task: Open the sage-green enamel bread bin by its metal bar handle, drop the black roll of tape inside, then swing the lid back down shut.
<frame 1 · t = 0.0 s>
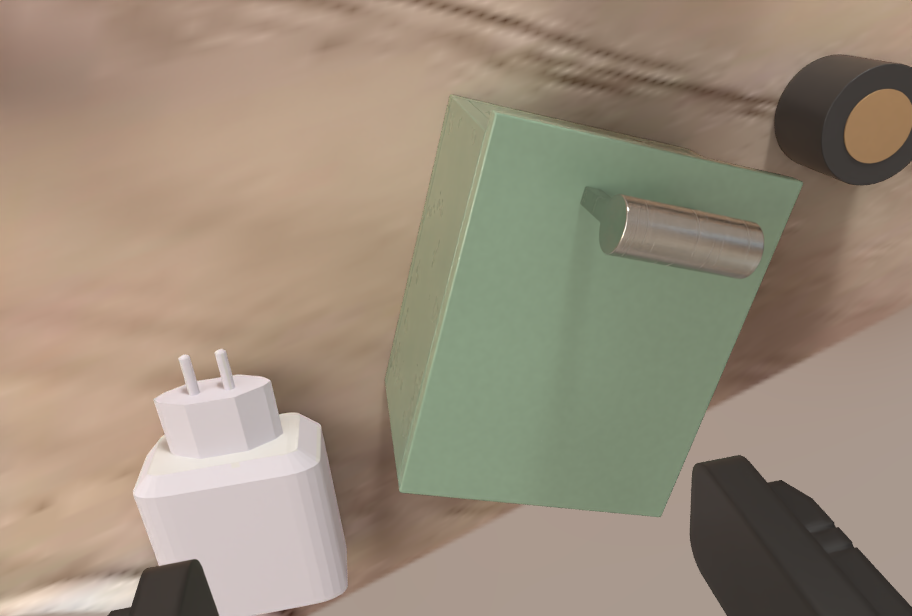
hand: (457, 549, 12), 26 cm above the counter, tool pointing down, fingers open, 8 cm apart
bread bin: (530, 268, 38), on the counter
charger: (242, 448, 41), on the counter
tape: (825, 111, 37), on the counter
lid: (607, 369, 28), point 12 cm above the counter, hinge at 0.0°
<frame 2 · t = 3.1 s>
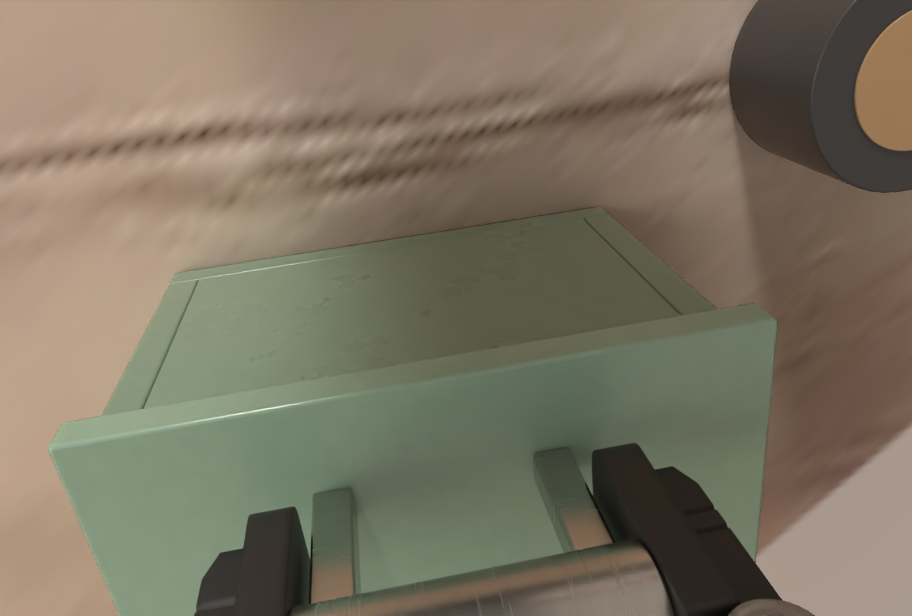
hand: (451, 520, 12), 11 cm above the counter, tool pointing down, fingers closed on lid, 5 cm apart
bread bin: (427, 453, 25), on the counter
tape: (820, 61, 21), on the counter
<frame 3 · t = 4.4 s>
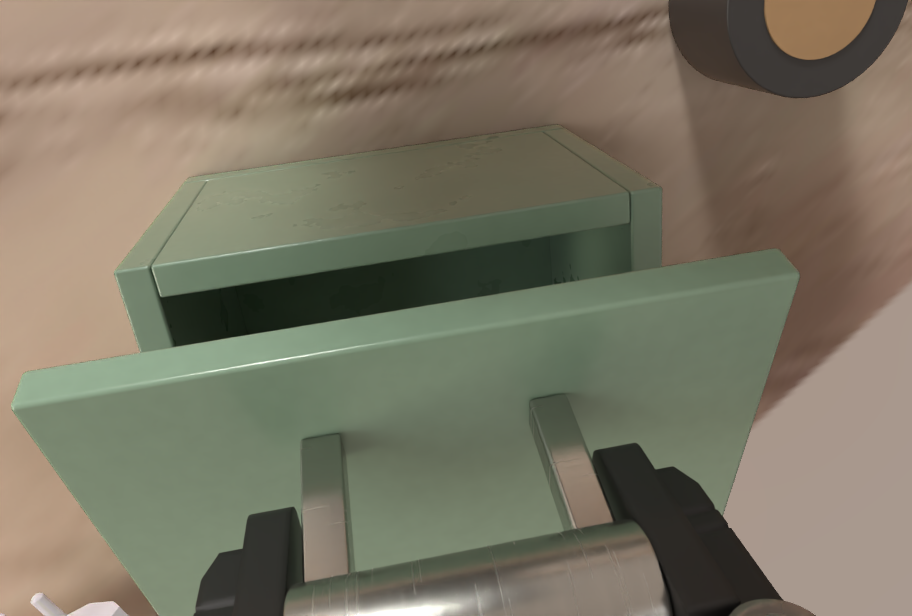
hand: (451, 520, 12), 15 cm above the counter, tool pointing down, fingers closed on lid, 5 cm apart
bread bin: (409, 353, 28), on the counter
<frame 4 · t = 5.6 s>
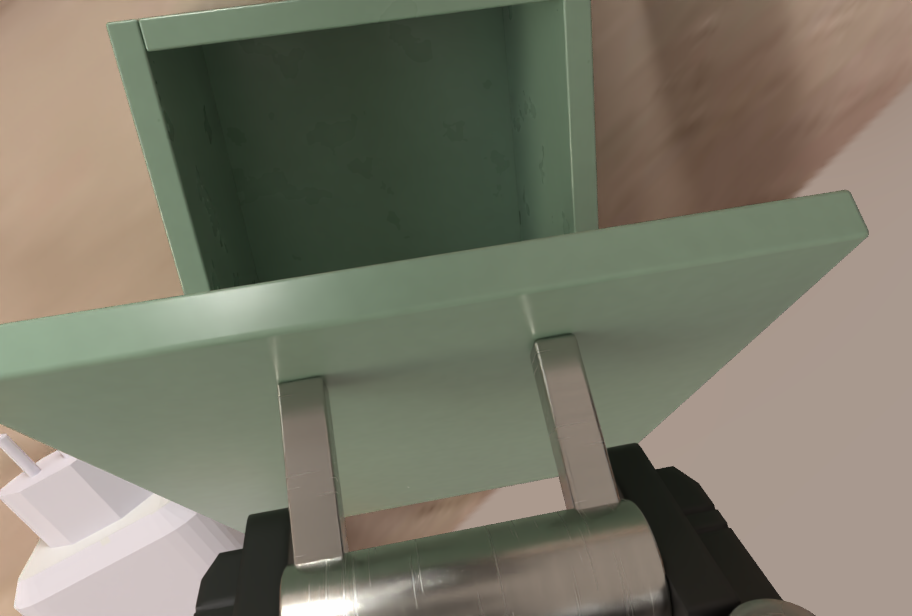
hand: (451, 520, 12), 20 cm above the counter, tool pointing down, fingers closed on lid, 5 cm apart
bread bin: (381, 197, 30), on the counter
charger: (150, 510, 34), on the counter
lid: (447, 529, 16), point 17 cm above the counter, hinge at 43.0°, touching gripper
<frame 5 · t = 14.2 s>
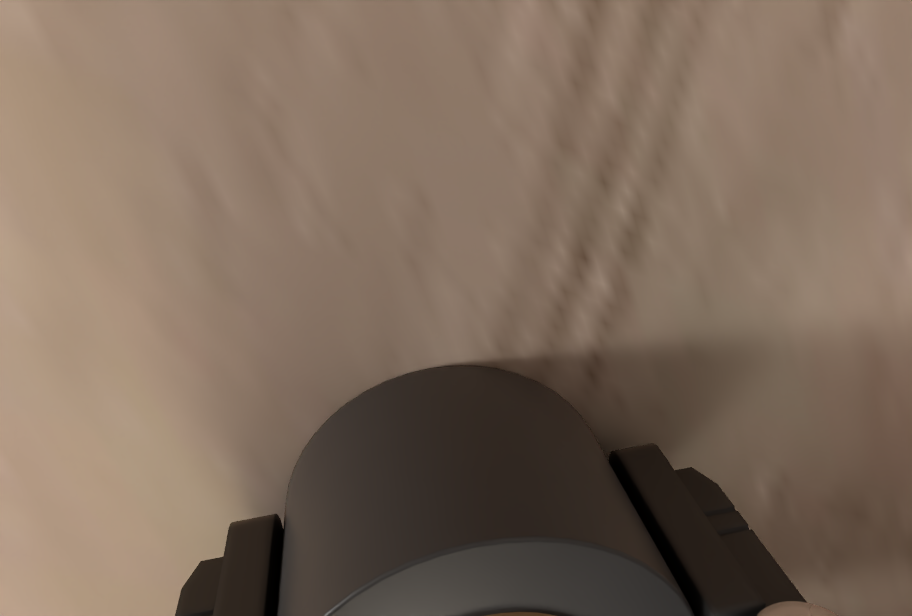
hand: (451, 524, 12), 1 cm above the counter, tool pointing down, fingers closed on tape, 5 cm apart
tape: (449, 504, 13), on the counter, touching gripper
when the fingers open (13 cm above the counter, at t = 19.8 s): tape drops 12 cm, resting on bread bin.
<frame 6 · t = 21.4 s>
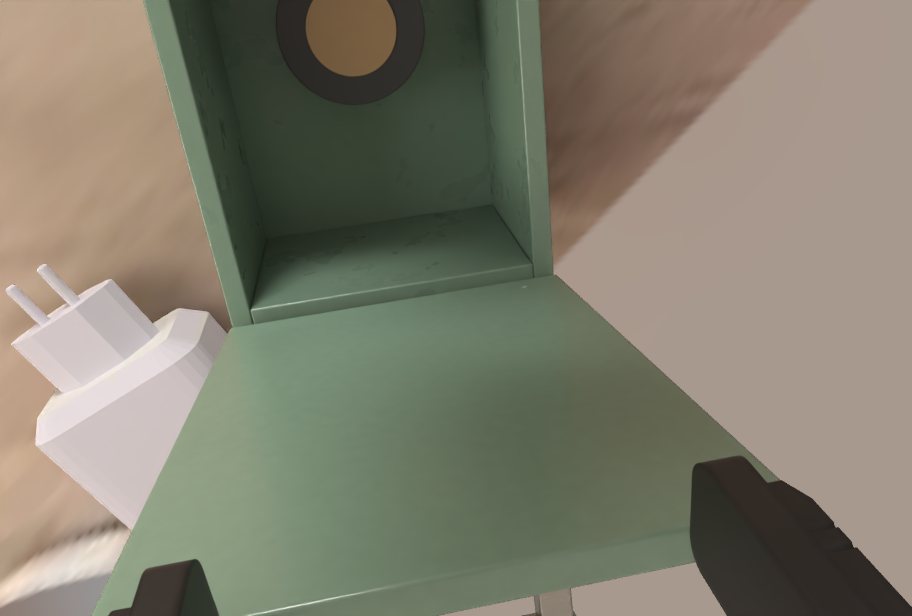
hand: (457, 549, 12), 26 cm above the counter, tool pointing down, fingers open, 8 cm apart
bread bin: (356, 68, 33), on the counter
charger: (154, 368, 38), on the counter
tape: (348, 22, 31), point 1 cm above the counter, touching bread bin
lid: (428, 469, 21), point 18 cm above the counter, hinge at 81.9°
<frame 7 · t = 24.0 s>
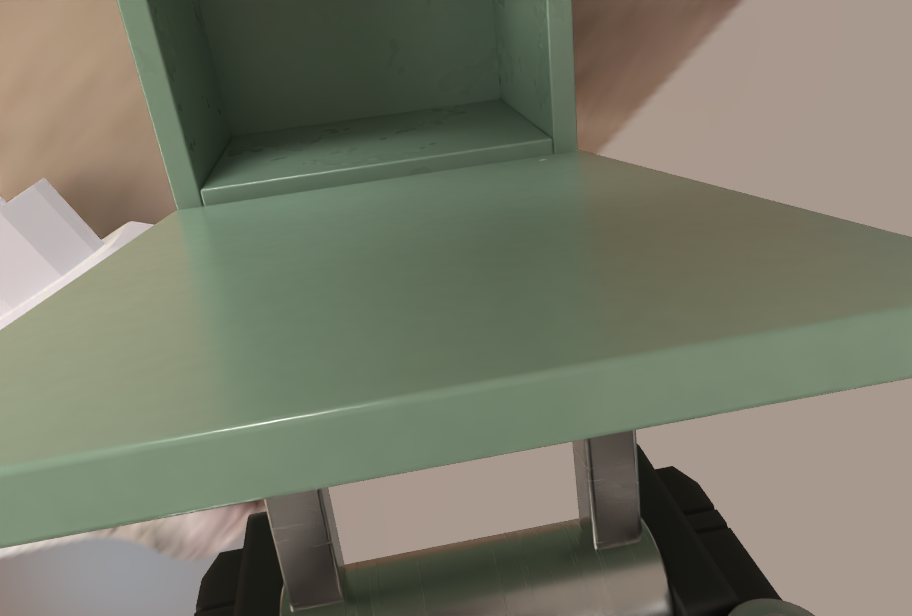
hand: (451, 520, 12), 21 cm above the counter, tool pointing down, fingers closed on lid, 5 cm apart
charger: (105, 298, 32), on the counter
lid: (419, 353, 15), point 18 cm above the counter, hinge at 82.0°, touching gripper
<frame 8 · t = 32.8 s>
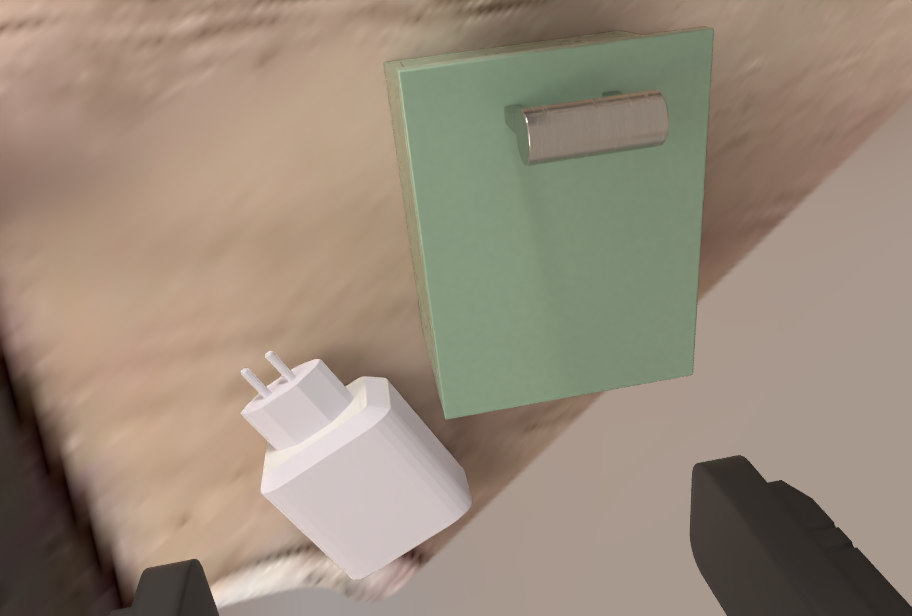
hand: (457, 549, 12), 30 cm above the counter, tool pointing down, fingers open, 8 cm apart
bread bin: (515, 191, 41), on the counter
charger: (337, 423, 46), on the counter
lid: (579, 261, 30), point 12 cm above the counter, hinge at 2.5°
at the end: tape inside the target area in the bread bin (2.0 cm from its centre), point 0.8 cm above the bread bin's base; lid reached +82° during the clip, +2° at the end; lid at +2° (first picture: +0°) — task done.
